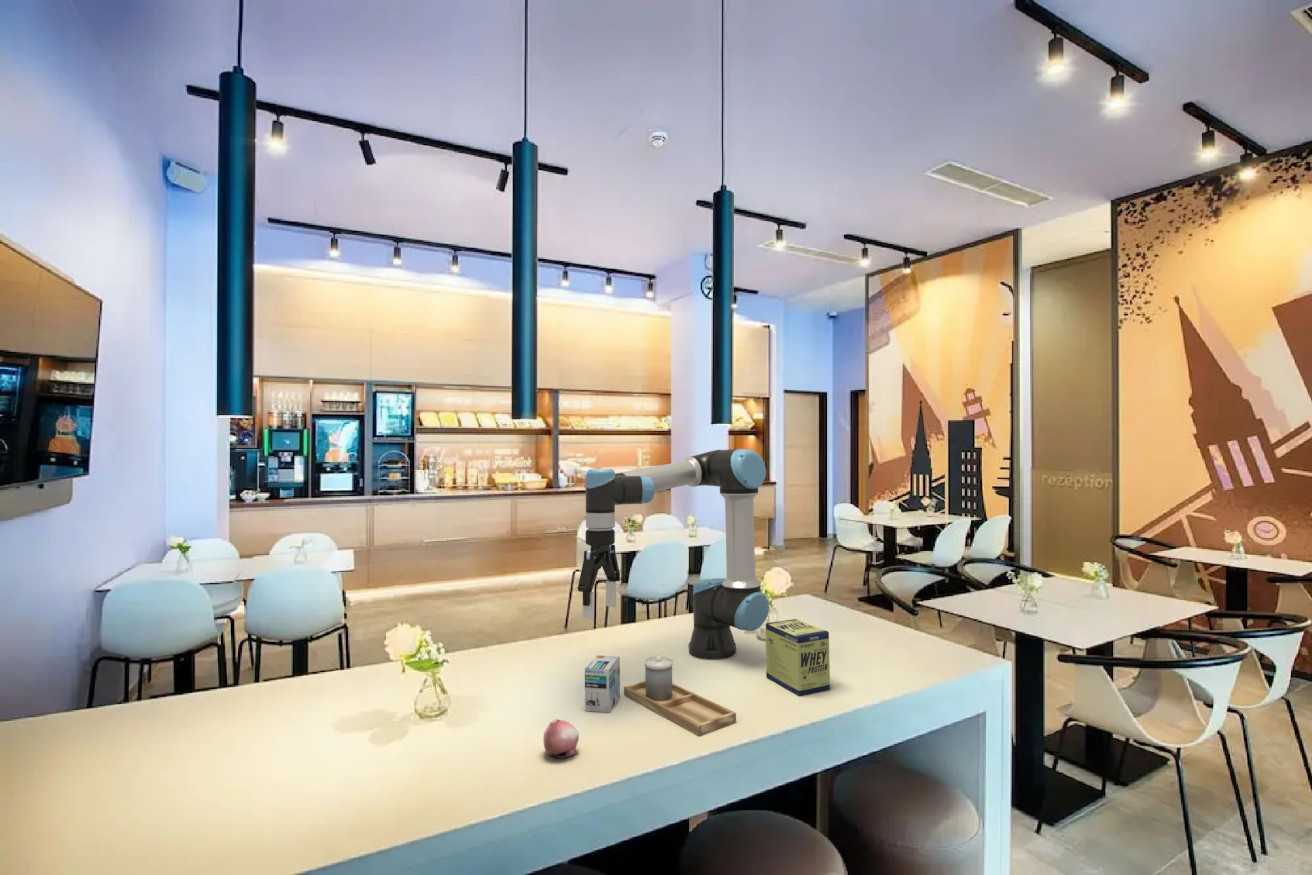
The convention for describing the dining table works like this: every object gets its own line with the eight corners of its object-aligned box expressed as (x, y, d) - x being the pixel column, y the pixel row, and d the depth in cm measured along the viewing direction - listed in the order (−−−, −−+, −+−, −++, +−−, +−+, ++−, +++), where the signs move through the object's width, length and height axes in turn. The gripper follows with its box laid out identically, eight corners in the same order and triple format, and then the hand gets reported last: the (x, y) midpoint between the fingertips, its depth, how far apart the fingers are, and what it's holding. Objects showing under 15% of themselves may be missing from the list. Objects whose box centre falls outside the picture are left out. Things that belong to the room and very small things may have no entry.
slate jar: (661, 688, 166) (661, 649, 167) (679, 696, 160) (678, 656, 161) (639, 695, 162) (638, 655, 162) (656, 703, 156) (655, 662, 156)
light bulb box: (610, 713, 153) (609, 669, 153) (584, 711, 154) (583, 667, 154) (621, 696, 163) (620, 655, 164) (596, 695, 165) (596, 654, 165)
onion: (544, 751, 135) (549, 716, 138) (579, 755, 135) (583, 719, 138) (538, 756, 128) (543, 719, 130) (575, 760, 128) (579, 722, 130)
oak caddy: (659, 685, 171) (658, 676, 171) (736, 722, 146) (735, 712, 146) (623, 695, 164) (623, 686, 164) (698, 736, 140) (698, 726, 140)
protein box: (799, 697, 161) (798, 636, 161) (765, 677, 175) (764, 622, 176) (831, 690, 165) (830, 631, 166) (795, 671, 179) (794, 617, 180)
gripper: (607, 523, 173) (607, 600, 172) (563, 533, 149) (563, 622, 148) (632, 524, 170) (632, 602, 169) (591, 534, 147) (591, 625, 146)
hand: (600, 612), depth 159 cm, fingers open, 13 cm apart
